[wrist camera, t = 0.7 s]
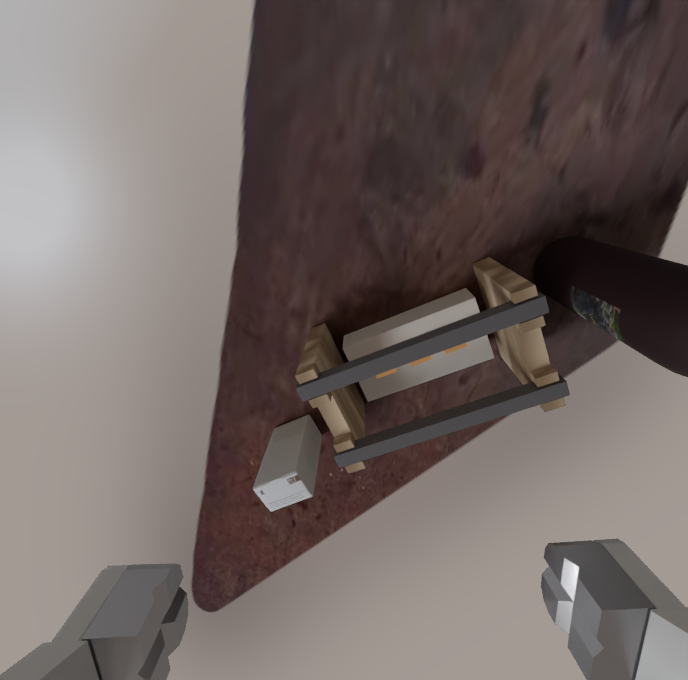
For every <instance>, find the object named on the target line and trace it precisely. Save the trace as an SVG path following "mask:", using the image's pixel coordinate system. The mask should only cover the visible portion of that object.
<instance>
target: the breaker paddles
mask: <svg viewBox="0 0 688 680" xmlns="http://www.w3.org/2000/svg"><path fill="white" fill-rule="evenodd" d="M464 347H467V344H466V343H463V344H461V345H458V346H455V347H452V348H450V349H447V350H444V352H445V354H447V353H450V352H453V351H456V350H458V349H461V348H464ZM428 360H431V356H427V357H425V358H422V359H419V360H416V361H414V362H411V363H410V366H414V365H417V364H420V363H422V362H425V361H428ZM395 372H397V368H394V369H392V370H389V371H386V372H383V373H381V374H378V375H376V378H377V379H378V378H381V377H384V376H386V375H389V374H392V373H395Z"/></svg>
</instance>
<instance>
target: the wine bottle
mask: <svg viewBox="0 0 688 680" xmlns="http://www.w3.org/2000/svg"><path fill="white" fill-rule="evenodd" d="M534 278H535V282H536V284H537V286H538V287H539V289H540V290H541V291H542V292H543V293H545V294H546V295H548V296H549V297H551V298H552V299H554V300H556V301H557V302H559V303H561V304H562V305H564V306H565V307H567V308H569V309H570V310H572V311H573V312H575V313H577V314H578V315H580V316H581V317H583V318H585V319H586V320H588V321H589V322H591V323H593V324H594V325H596V326H598V327H599V328H601V329H602V330H604V331H606V332H607V333H609V334H610V335H612V336H614V337H615V338H617V339H618V340H620V341H622V342H624V343H625V344H627V345H628V346H630V347H631V348H633V349H635V350H636V351H638V352H639V353H641V354H643V355H644V356H646V357H648V358H649V359H651V360H652V361H654V362H656V363H657V364H659V365H661V366H663V367H665V368H667V369H669V370H671V371H672V372H674V373H677V374H680V375H683V376H686V377H688V266H687V265H683V264H680V263H675V262H672V261H668V260H664V259H661V258H657V257H653V256H649V255H645V254H642V253H638V252H634V251H630V250H626V249H623V248H619V247H615V246H611V245H607V244H603V243H600V242H596V241H592V240H588V239H584V238H580V237H567V238H563V239H559V240H557V241H555V242H553V243H551V244H550V245H548V246H547V247H546V248H545V249H544V250H543V251H542V252H541V254H540V255H539V257H538V258H537V260H536V263H535V266H534Z"/></svg>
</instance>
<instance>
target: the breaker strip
mask: <svg viewBox="0 0 688 680" xmlns="http://www.w3.org/2000/svg"><path fill="white" fill-rule="evenodd" d="M477 313H480V311H479V308H478V305H477V302H476V299H475V297H474V296H473V295H472V294H471V293H470V292H469V291H468V290H467V289H466V288H464V289H462V290H459V291H457V292H454V293H451V294H449V295H446V296H444V297H441V298H439V299H436V300H434V301H431V302H428V303H426V304H423V305H421V306H418V307H416V308H413V309H411V310H408V311H405V312H403V313H400V314H398V315H395V316H393V317H390V318H388V319H385V320H382V321H380V322H377V323H375V324H372V325H370V326H367V327H365V328H362V329H359V330H357V331H354V332H352V333H349V334H347V335H344V339H343V351H344V353H345V355H346V357H347V359H348V361H352V360H355V359H357V358H360V357H363V356H365V355H368V354H371V353H373V352H376V351H379V350H381V349H384V348H387V347H389V346H392V345H395V344H397V343H400V342H402V341H405V340H408V339H410V338H413V337H416V336H418V335H421V334H424V333H426V332H429V331H432V330H434V329H437V328H440V327H442V326H445V325H448V324H450V323H453V322H456V321H458V320H461V319H464V318H466V317H469V316H472V315H474V314H477ZM466 344H467V347H464V348H461V349H458V350H456V351H453V352H450V353H447V354H445V352H444V351H441V352H439V353H436V354H433V355H430V356H431V360H428V361H425V362H422V363H420V364H417V365H414V366H410V363H408V364H405V365H403V366H400V367H397V372H395V373H392V374H389V375H386V376H384V377H381V378H378V379H377V378H376V375H375V376H372V377H370V378H367V379H364V380H361V381H358V382H359V384H360V386H361V388H362V390H363V392H364V394H365V396H366V398H367V400H368V402H369V401H372V400H375V399H378V398H381V397H384V396H387V395H389V394H392V393H395V392H398V391H401V390H404V389H407V388H410V387H412V386H415V385H418V384H421V383H424V382H427V381H430V380H432V379H435V378H438V377H441V376H444V375H447V374H450V373H453V372H455V371H458V370H461V369H464V368H467V367H470V366H473V365H475V364H478V363H481V362H484V361H487V360H490V359H493V358H494V355H493V352H492V349H491V346H490V343H489V339H488V336H487V335H485V336H483V337H480V338H477V339H474V340H472V341H469V342H466Z"/></svg>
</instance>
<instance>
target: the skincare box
mask: <svg viewBox="0 0 688 680" xmlns="http://www.w3.org/2000/svg"><path fill="white" fill-rule="evenodd" d="M321 440H322V435H321V433H320V431H319V429H318V428H317V426H316V424H315V423H314V421H313V420H312V418H311V416H310V415H306V416H304V417H301V418H299V419H296V420H294V421H291V422H289V423H286V424H284V425H282V426H279V427H277V428H274V430H273V433H272V436H271V438H270V441H269V444H268V447H267V450H266V452H265V455H264V458H263V461H262V464H261V466H260V469H259V472H258V475H257V478H256V480H255V483H254V486H253V490H254V491H255V493H256V494H257V495H258V497H259V498H260V499H261V500H262V502H263V503H264V504H265V506H266V507H267V508H268V509H269V510H270V511H271V512H272V511H274V510H277V509H280V508H282V507H285V506H288V505H290V504H293V503H296V502H299V501H301V500H304V499H307V498H309V497H312V496H313V493H314V487H315V480H316V473H317V467H318V460H319V454H320V447H321Z"/></svg>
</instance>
